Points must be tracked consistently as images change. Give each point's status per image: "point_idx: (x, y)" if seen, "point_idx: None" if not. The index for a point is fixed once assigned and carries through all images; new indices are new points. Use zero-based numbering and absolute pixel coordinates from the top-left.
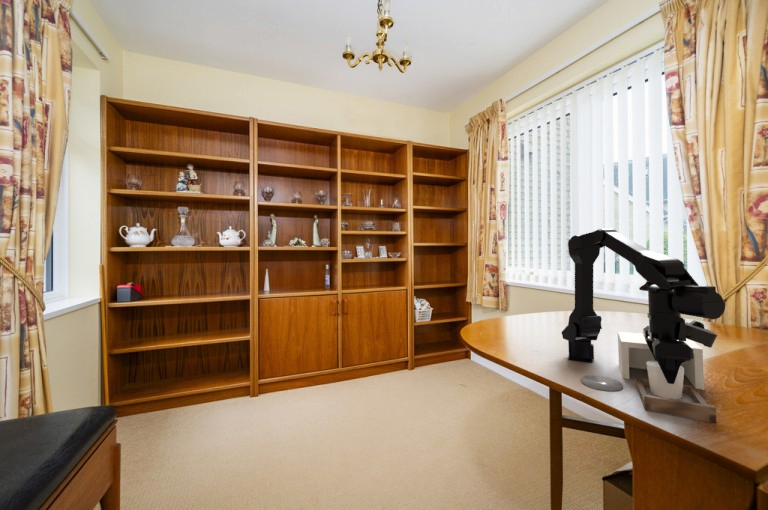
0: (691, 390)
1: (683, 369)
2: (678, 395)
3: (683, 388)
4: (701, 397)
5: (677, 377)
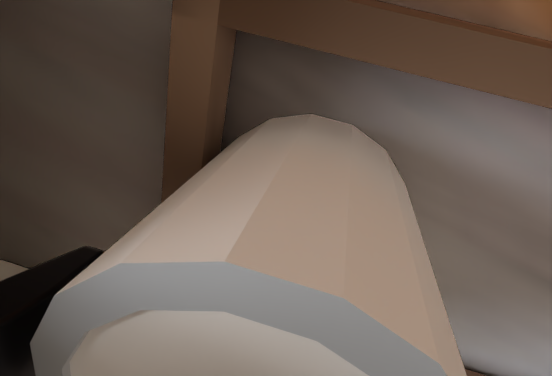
0: (321, 49)
1: (401, 338)
2: (399, 182)
3: (220, 65)
4: (537, 54)
5: (451, 336)
